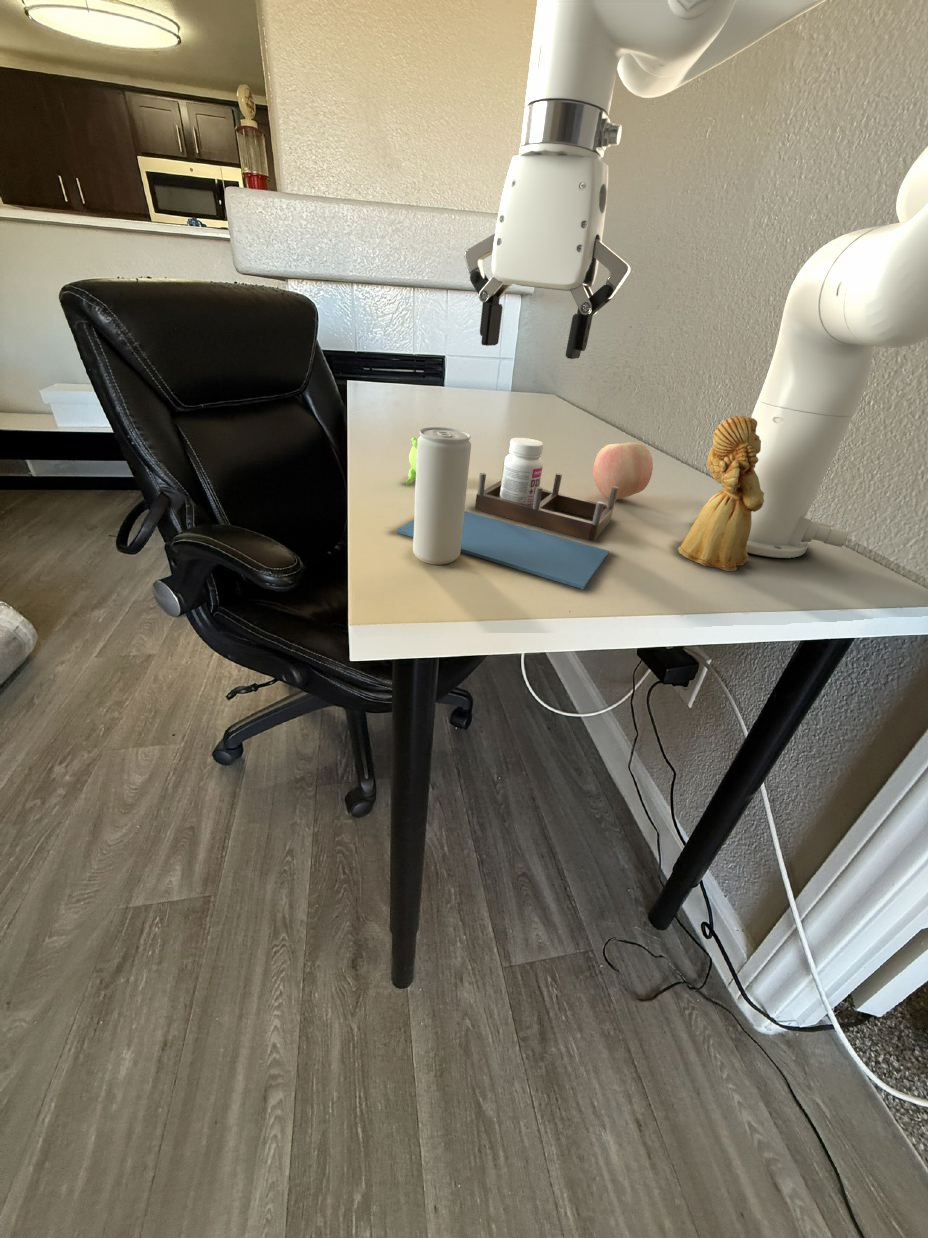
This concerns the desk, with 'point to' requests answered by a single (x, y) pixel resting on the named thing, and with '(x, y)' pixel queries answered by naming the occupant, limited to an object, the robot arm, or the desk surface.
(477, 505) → the brown divided tray
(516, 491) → the pill bottle
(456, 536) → the beverage can
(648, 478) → the peach
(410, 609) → the desk surface
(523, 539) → the mat
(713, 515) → the figurine
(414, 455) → the green toy figure
